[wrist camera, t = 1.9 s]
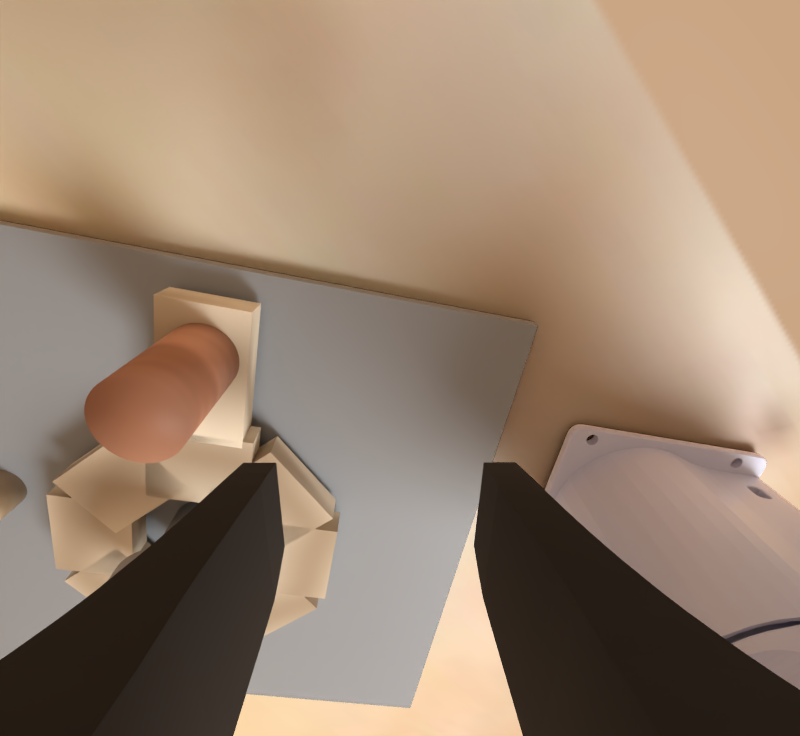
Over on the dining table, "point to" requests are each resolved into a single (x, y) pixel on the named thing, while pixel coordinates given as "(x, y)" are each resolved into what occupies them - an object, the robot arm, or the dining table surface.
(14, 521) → the post board
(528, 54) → the dining table surface
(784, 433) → the dining table surface
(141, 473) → the beige angular piece
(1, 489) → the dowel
